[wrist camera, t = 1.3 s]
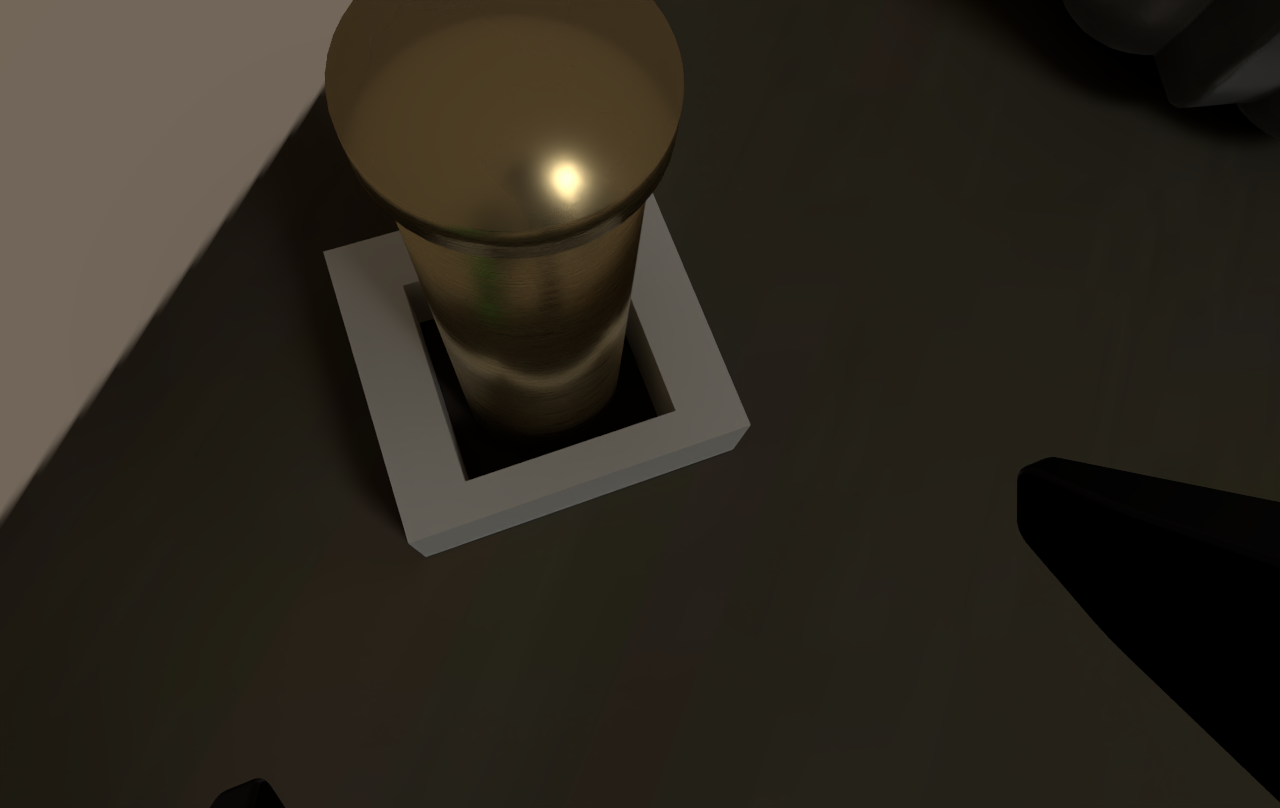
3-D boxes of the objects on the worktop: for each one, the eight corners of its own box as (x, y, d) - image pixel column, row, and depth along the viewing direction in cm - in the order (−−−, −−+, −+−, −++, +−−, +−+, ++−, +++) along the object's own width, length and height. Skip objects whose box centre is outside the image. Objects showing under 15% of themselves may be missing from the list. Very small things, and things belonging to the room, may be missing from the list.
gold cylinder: (650, 332, 25) (726, -4, 12) (593, 487, 23) (617, 279, 11) (492, 278, 25) (413, -107, 13) (425, 429, 23) (260, 158, 11)
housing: (732, 449, 24) (750, 425, 21) (426, 556, 22) (408, 543, 20) (633, 210, 26) (640, 163, 24) (347, 292, 24) (322, 251, 22)
